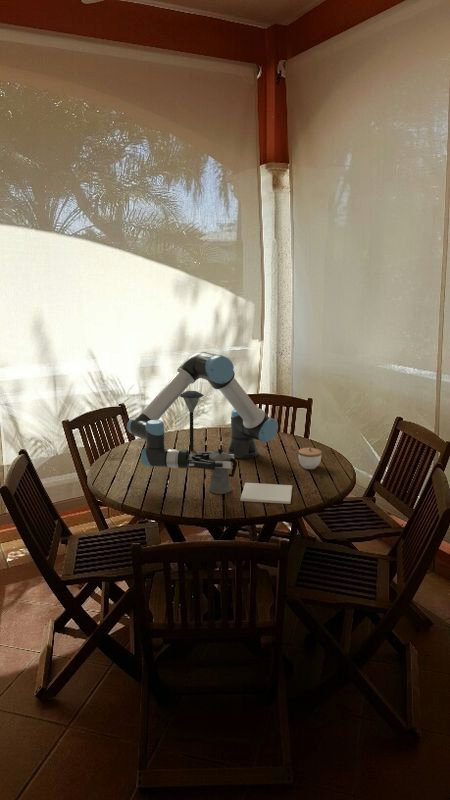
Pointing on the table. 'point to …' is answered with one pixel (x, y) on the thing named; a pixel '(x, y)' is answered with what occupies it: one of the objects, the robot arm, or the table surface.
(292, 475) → the table surface
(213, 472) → the coffeepot
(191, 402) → the solar garden light
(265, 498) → the placemat
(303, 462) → the lidded jar
